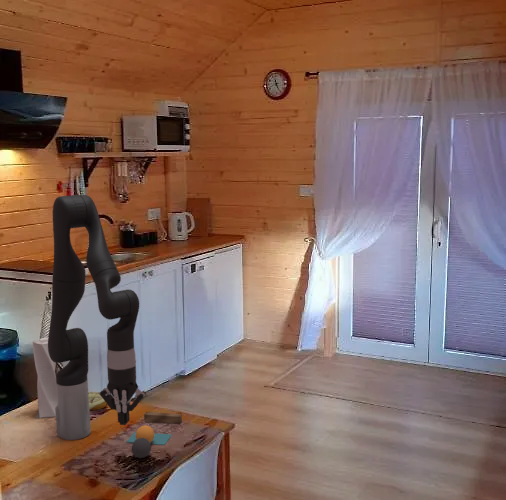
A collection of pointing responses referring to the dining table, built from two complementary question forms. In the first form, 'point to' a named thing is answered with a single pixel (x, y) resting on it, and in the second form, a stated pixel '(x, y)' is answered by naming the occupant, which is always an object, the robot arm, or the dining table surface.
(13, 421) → the dining table surface
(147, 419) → the walnut strip
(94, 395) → the decorated donut
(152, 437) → the orange ball
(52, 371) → the skyscraper
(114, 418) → the dining table surface
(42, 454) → the dining table surface
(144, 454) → the gray ball
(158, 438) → the teal mark
